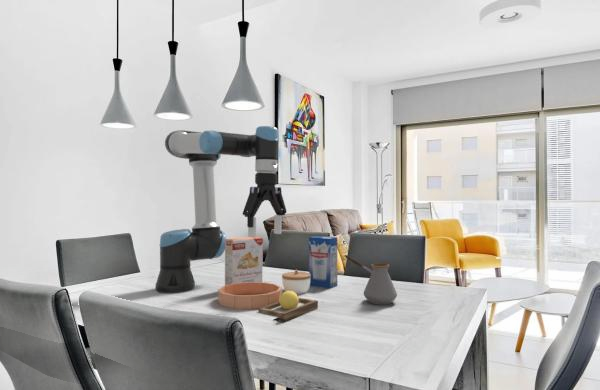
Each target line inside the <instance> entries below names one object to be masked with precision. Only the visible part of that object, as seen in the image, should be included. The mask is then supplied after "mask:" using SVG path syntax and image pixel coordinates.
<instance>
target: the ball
mask: <svg viewBox="0 0 600 390" xmlns="http://www.w3.org/2000/svg"><path fill="white" fill-rule="evenodd" d="M298 298H299V297H298V294H296V293H295V292H293V291H286V292H285V291H283V292H282V295H281V297H280V305H281V306H280V307H281V308H282V309H284V310H287V311H288V310H291V309H293V308H296V307H298V305H299V303H300V302H299V299H298Z"/></svg>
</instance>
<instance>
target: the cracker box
mask: <svg viewBox="0 0 600 390" xmlns="http://www.w3.org/2000/svg"><path fill="white" fill-rule="evenodd" d="M263 245H264V238H262V237H257V236H256V238H252V237H235V238H226V239H225V251H224V286H225V285H230V284H234V283H244V282H263V272H264V271H263V268H264V267H263V265H264V264H263V262H264V261H263V258H264V256H263V255H264V253H263V252H264V251H263V250H264V246H263Z"/></svg>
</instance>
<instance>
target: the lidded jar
mask: <svg viewBox="0 0 600 390" xmlns="http://www.w3.org/2000/svg"><path fill="white" fill-rule="evenodd" d="M310 277H311V274H309V272H305V271H299V270H298V269H295V270H294V271H288V272H284V273H282V275H281V278H282V279H281V280H282V287H283V290H284V292H286V291H293V292H295V293H296V294H297V295H298V294H299V295H300V294H307V292H308V291H309V289H310V287H311V286H310Z"/></svg>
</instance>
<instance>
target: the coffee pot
mask: <svg viewBox="0 0 600 390" xmlns="http://www.w3.org/2000/svg"><path fill="white" fill-rule="evenodd" d="M344 257H345V258H344ZM346 259H348V260H349V261H350V262H352V263H353V264H355V265H356V266H359V267H360V268H363V269H364V270H366V271H367V273H370V277H369V279H368V281H367V284H366V285H365V288H364V290H363V296H364V298H365V299H366V300H367V301H368V302H369V303H370V304H373V305H382V306H383V305H384V306H386V305H390V304H392V302H394V301H395V300H396V299H397V296H398V293H397V290H396V288H395V286H394V284H393V281H392V278H391V276H390V274H389V272H388V270H389V268H390V264H388V263H372V264H371V263H370V266H371V269H370V268H369V267H366V266H365V265H363V264H362V263H360V262H359V261H358V260H356V259H354V258H352V257H351V256H349V255H347V254H345V255H344V256H343V257H342V260H343V261H344V260H346Z"/></svg>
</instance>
